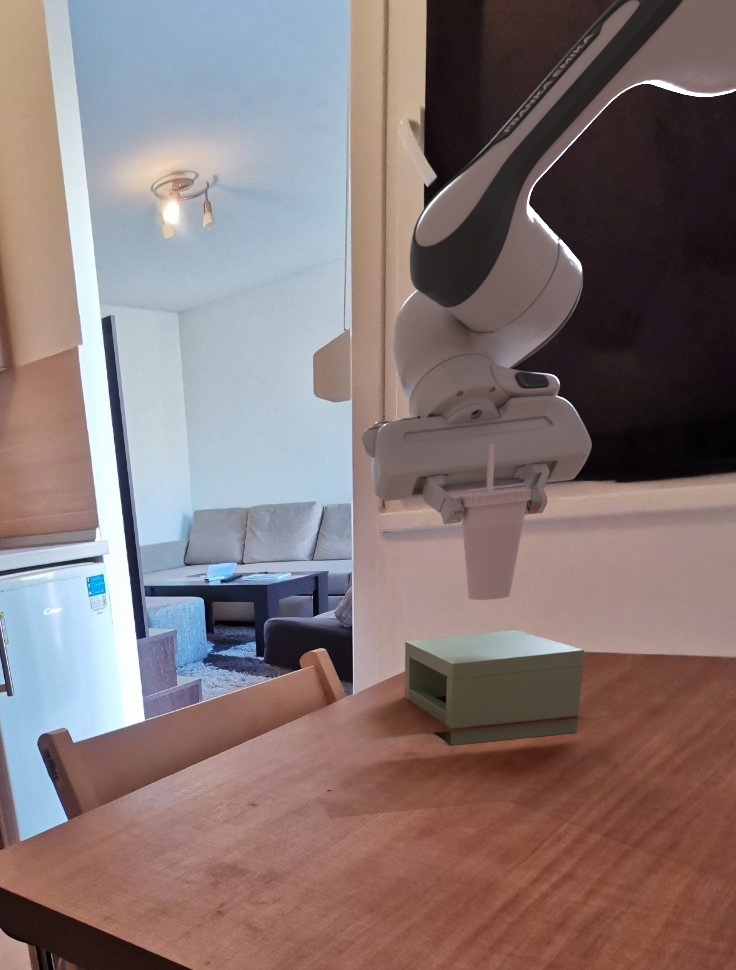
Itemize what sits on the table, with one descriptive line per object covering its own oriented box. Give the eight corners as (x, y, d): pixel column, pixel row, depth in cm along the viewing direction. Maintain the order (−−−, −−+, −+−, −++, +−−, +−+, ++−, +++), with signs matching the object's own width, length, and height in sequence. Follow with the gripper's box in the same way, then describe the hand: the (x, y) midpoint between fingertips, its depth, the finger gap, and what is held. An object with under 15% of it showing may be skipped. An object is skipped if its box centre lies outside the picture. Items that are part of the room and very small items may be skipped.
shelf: (511, 700, 86) (515, 629, 83) (576, 733, 73) (584, 649, 70) (404, 711, 87) (405, 641, 84) (450, 745, 74) (453, 663, 71)
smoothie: (440, 599, 77) (444, 450, 73) (489, 591, 79) (496, 444, 74) (488, 603, 72) (496, 441, 67) (540, 593, 74) (551, 435, 69)
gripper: (364, 398, 76) (393, 501, 70) (573, 372, 75) (620, 474, 69) (353, 451, 81) (379, 549, 76) (547, 427, 80) (589, 526, 75)
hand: (496, 513), depth 72 cm, fingers closed on smoothie, 6 cm apart
